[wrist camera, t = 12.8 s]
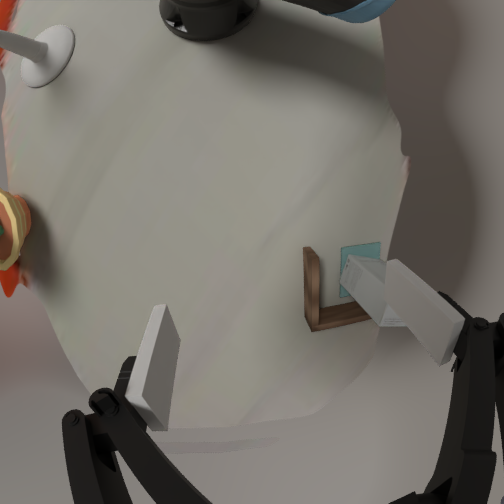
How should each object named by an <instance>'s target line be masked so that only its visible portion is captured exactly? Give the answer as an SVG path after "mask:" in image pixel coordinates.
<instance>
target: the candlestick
mask: <svg viewBox="0 0 504 504" xmlns="http://www.w3.org/2000/svg"><path fill="white" fill-rule="evenodd" d="M74 44H75V37H74V33H73V31H72V30H71V29H70V28H69V27H68V26H65V25H55V26H52V27H50V28H48V29H46V30H44V31H43V32H42V33H40V34H39V35H38V36H37V37H36V38H35V39H34V40H33V39H30V38H27V37H24V36H20V35H17V34H14V33H10V32H7V31H3V30H0V47H1V48H4V49H6V50H9V51H11V52H13V53H16V54H18V55H21V56H23V60H22V64H21V77H22V80H23V82H24V83H25V84H26V85H28V86H30V87H41V86H44V85H46V84H48V83H49V82H51V81H52V80H53V79H54V78H56V77H57V76H58V75H59V73H60V72H61V71H62V70H63V69H64V67H65V66H66V64H67V63H68V61H69V59H70V57H71V55H72V52H73V49H74Z"/></svg>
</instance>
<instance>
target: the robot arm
mask: <svg viewBox="0 0 504 504" xmlns="http://www.w3.org/2000/svg"><path fill="white" fill-rule="evenodd" d="M282 1H286V2H290V3H293V4H297V5H300V6H303V7H307V8H310V9H313V10H316V11H318V12H319V13H320V14H322V15H325V16H333V17H335V18H338V19H341V20H344V21H346V22H350V23H364V22H368V21H370V20H373V19H375V18H376V17H378V16H380V15H381V14H382V13H384V12H385V11H386V10H387V9H388V8H389V7H390V6H391V5H392V4H393V3H394V2H395V1H396V0H282ZM256 6H257V0H160V4H159V10H160V14H161V17H162V19H163V21H164V23H165V25H166V26H167V27H168V28H169V29H170V30H171V31H172V32H173V33H175V34H177V35H179V36H181V37H183V38H187V39H191V40H200V41H206V40H215V39H220V38H224V37H227V36H230V35H232V34H234V33H236V32H238V31H239V30H241V29H242V28H243V27H245V26H246V25H247V24H248V23H249V22H250V20H251V19H252V17H253V15H254V13H255V10H256ZM384 300H385V301H386V302H387V304H388V305H389V306H390V307H391V308H392V309H393V311H394V312H395V313H396V314H397V315H398V316H399V318H400V319H401V320H402V321H403V322H404V323H405V325H406V326H407V327H408V328H409V329H410V331H411V332H412V333H413V334H414V335H415V336H416V338H417V339H418V340H419V342H420V343H421V344H422V345H423V346H424V348H425V349H426V350H427V352H428V353H429V354H430V355H431V357H432V358H433V359H434V360H435V362H436V363H437V364H438V365H439V366H441V365H443V364H445V363H447V362H449V361H450V359H451V357H452V354H453V352H454V353H455V355H456V356H457V357H456V360H455V362H454V364H453V367H452V369H451V372H453V369H454V378H453V387H452V395H451V402H450V408H449V414H448V419H447V424H446V429H445V434H444V438H443V442H442V446H441V451H440V454H439V458H438V461H437V465H436V468H435V471H434V474H433V476H432V478H431V480H430V482H429V483H428V485H427V487H426V489H425V491H424V493H423V494H416V493H415V491H414V492H412V493H410V494H408V495H406V496H404V497H402V498H399V499H397V500H395V501H393V502H390V503H389V504H487V501H488V497H489V494H490V490H491V485H492V481H493V476H494V471H495V466H496V456H497V455H496V453H495V452H493V451H492V449H491V448H492V439H493V429H494V417H495V402H496V407H497V412H498V418H499V424H500V432H501V439H502V449H503V462H504V313H502V314H501V315H500V317H499V320H498V322H493V323H489V322H488V321H487V320H485V319H484V318H480V317H476V318H472V317H471V316H470V315H469V314H468V313H467V312H466V311H465V310H464V309H463V308H461V307H460V306H459V305H457V303H456V302H455V301H453V300H452V299H451V298H450V297H449V296H448V295H446V294H444V293H442V292H440V291H439V292H436V291H435V290H433V289H432V288H431V287H430V286H429V285H428V284H427V283H425V282H424V281H423V280H422V279H420V278H419V277H418V276H417V275H416V274H415V273H414V272H412V271H411V270H410V269H409V268H407V267H406V266H405V265H404V264H403V263H401V262H400V261H399V260H397V259H394V260H390V261H387V264H386V278H385V289H384ZM180 341H181V340H180V338H179V335H178V333H177V330H176V328H175V325H174V322H173V320H172V317H171V315H170V312H169V309H168V306H167V304H162V305H155V306H154V308H153V311H152V313H151V316H150V319H149V322H148V325H147V328H146V330H145V333H144V336H143V339H142V342H141V345H140V348H139V351H138V354H137V356H130V357H128V358H127V359H126V360H125V362H124V363H123V365H122V367H121V370H120V373H119V376H118V379H117V382H116V385H115V388H114V391H113V390H112V389H110V388H101V389H98V390H96V391H95V392H94V393H92V395H91V396H90V398H89V406H90V408H91V409H92V410H93V411H94V412H95V413H93V414H89V415H84V414H83V413H82V412H81V411H80V410H77V409H75V410H71V411H69V412H67V413H66V414H65V415H64V417H63V419H62V432H63V442H64V451H65V458H66V465H67V471H68V476H69V482H70V486H71V491H72V495H73V500H74V504H133V503H132V500H131V498H130V495H129V493H128V490H127V487H126V485H125V482H124V479H123V476H122V473H121V471H120V467H119V464H118V461H117V458H116V455H115V451H117V450H118V451H119V453H120V454H121V456H122V457H123V459H124V460H125V462H126V463H127V465H128V466H129V468H130V469H131V471H132V472H133V474H134V475H135V476H136V478H137V479H138V481H139V482H140V483H141V485H142V486H143V487H144V489H145V490H146V491H147V493H148V494H149V495H150V496H151V497H152V499H153V500H154V501H155V502H156V504H212V503H211V502H210V501H209V500H208V499H207V498H206V497H205V496H204V495H202V494H201V493H200V492H199V491H198V490H197V489H196V488H195V487H194V486H193V485H192V484H191V483H190V482H189V481H188V480H187V479H186V478H185V477H184V476H183V475H182V473H180V471H179V470H178V469H177V468H176V467H175V466H174V465H173V464H172V463H171V461H169V459H168V458H167V457H166V456H165V455H164V453H163V452H162V451H161V450H160V449H159V447H158V446H157V445H156V444H155V443H154V441H153V440H152V439H151V438H150V436H149V435H148V434H147V433H146V428H147V425H148V427H149V428H150V429H151V430H152V431H167V430H168V422H169V414H170V406H171V399H172V392H173V385H174V378H175V371H176V365H177V359H178V353H179V347H180ZM501 504H504V496H503V497H502V499H501Z"/></svg>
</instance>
